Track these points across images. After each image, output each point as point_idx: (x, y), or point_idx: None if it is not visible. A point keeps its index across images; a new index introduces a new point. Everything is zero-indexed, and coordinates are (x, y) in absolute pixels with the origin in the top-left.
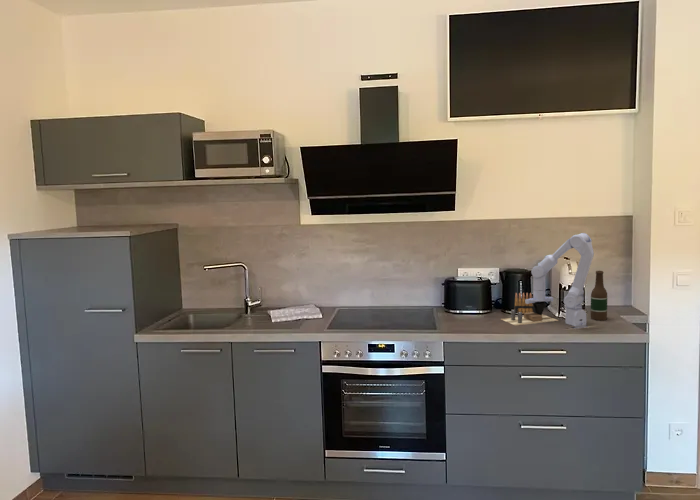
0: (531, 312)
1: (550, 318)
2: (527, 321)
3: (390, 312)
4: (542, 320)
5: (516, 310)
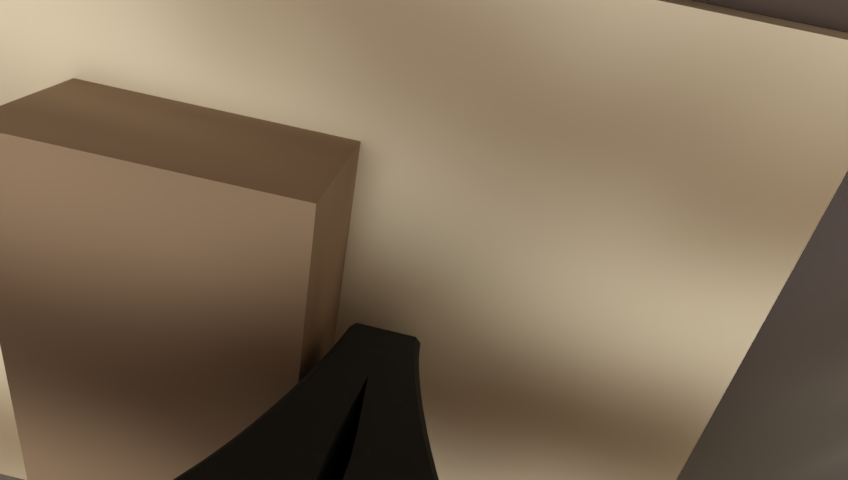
0: (245, 214)
1: (606, 474)
2: None
3: None
4: None
5: None
